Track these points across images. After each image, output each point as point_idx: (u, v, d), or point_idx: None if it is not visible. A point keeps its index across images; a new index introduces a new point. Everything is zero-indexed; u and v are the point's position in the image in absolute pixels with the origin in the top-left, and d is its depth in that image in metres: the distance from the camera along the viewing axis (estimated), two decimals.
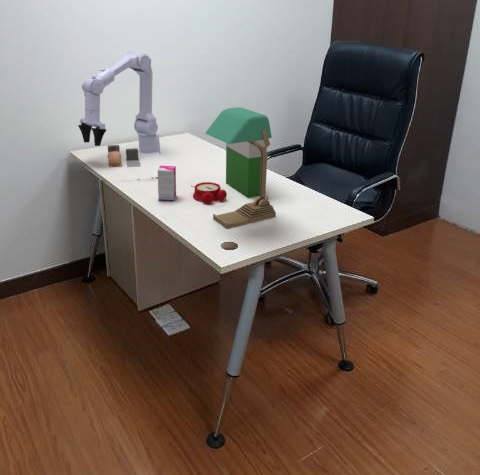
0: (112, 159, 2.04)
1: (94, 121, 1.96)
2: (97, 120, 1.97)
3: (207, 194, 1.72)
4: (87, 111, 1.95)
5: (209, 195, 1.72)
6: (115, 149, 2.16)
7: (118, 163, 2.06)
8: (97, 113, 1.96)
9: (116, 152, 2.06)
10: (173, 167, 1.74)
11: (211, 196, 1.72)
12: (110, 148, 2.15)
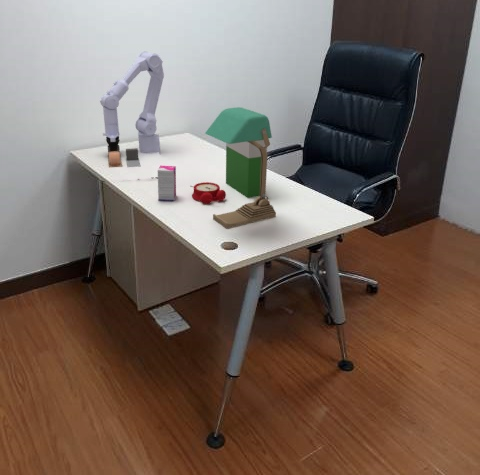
0: (112, 159, 2.04)
1: (110, 134, 2.11)
2: (113, 133, 2.11)
3: (206, 194, 1.72)
4: None
5: (208, 195, 1.72)
6: None
7: (118, 163, 2.06)
8: (112, 126, 2.10)
9: (116, 152, 2.06)
10: (173, 167, 1.74)
11: (210, 196, 1.72)
12: None
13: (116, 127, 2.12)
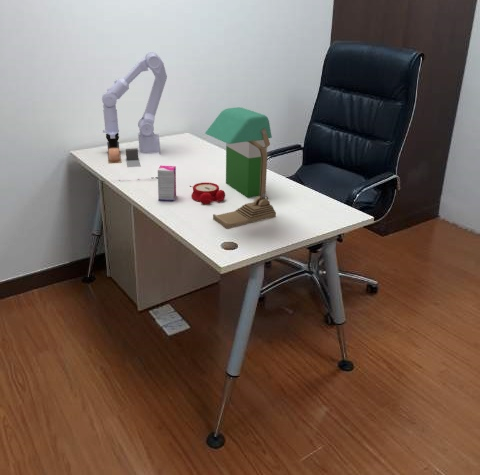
0: (112, 155, 2.09)
1: (110, 131, 2.16)
2: (113, 130, 2.16)
3: (205, 194, 1.72)
4: (104, 121, 2.16)
5: (207, 195, 1.72)
6: None
7: (117, 159, 2.11)
8: (112, 123, 2.15)
9: (116, 148, 2.11)
10: (173, 167, 1.74)
11: (209, 196, 1.72)
12: None
13: (116, 124, 2.16)
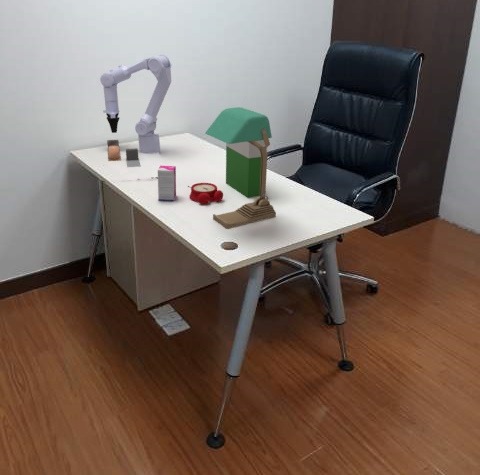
0: (112, 153, 2.12)
1: (110, 111, 2.20)
2: (113, 110, 2.20)
3: (203, 195, 1.71)
4: (105, 102, 2.20)
5: (205, 196, 1.71)
6: (114, 144, 2.24)
7: (117, 157, 2.14)
8: (112, 103, 2.19)
9: (115, 146, 2.14)
10: (173, 167, 1.74)
11: (207, 197, 1.72)
12: (110, 143, 2.23)
13: (116, 104, 2.20)
